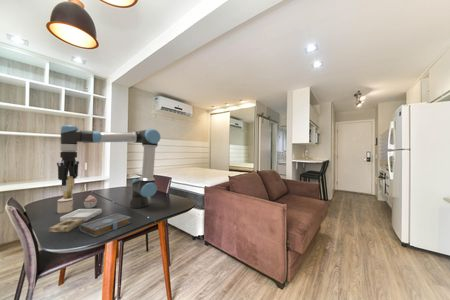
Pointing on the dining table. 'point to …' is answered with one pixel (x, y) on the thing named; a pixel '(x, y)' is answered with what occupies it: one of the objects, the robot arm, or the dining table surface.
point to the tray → (82, 214)
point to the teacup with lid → (65, 205)
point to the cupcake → (90, 202)
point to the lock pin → (70, 187)
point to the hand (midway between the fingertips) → (68, 190)
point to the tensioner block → (66, 225)
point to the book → (104, 224)
